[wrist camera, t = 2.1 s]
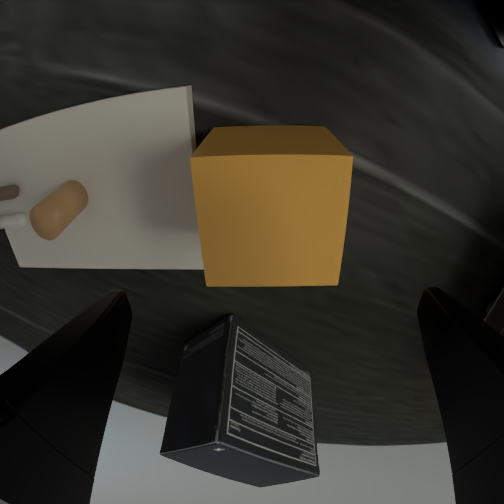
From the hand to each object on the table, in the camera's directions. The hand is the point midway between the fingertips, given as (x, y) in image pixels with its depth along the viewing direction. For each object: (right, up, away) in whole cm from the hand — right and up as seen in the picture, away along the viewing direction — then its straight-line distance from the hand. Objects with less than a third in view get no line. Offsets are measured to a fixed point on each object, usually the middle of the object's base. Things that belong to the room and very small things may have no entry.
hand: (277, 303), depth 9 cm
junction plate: (-12, +6, +10) cm, 16 cm away
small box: (-1, -8, +18) cm, 20 cm away
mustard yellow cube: (0, +6, +9) cm, 11 cm away
